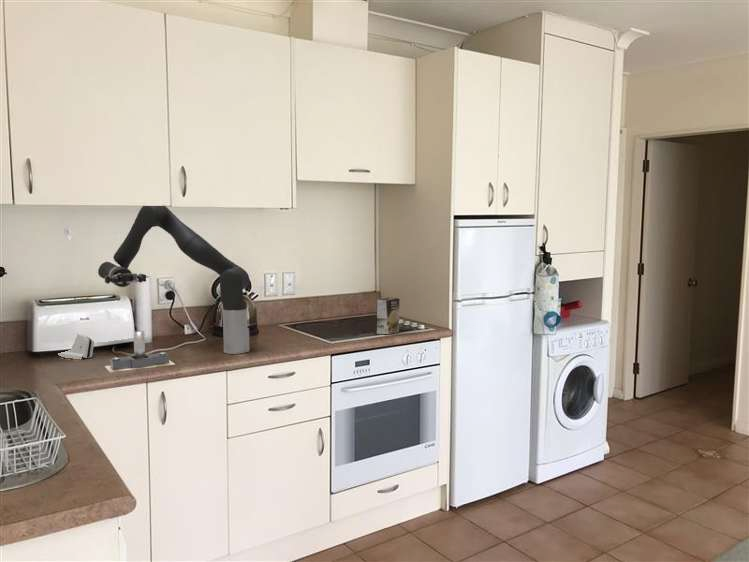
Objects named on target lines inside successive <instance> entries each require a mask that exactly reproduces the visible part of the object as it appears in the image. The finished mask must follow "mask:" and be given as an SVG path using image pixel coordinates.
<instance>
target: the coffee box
mask: <svg viewBox="0 0 749 562" xmlns="http://www.w3.org/2000/svg"><path fill="white" fill-rule="evenodd" d="M376 307H377V310H376V311H377V312H376V334H378V335H383V334H390V335H393V334H392V333H394V334H398V333H397V332H399V333H400V298H398V297H383V298H377V305H376Z"/></svg>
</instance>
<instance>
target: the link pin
mask: <svg viewBox="0 0 749 562" xmlns="http://www.w3.org/2000/svg"><path fill="white" fill-rule="evenodd" d="M145 339H146V338H145V331H144V330H136V331H133V351H134V353H133V355H134V356H135V359H140V358H145V354H146V344H145V343H146V340H145Z"/></svg>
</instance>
